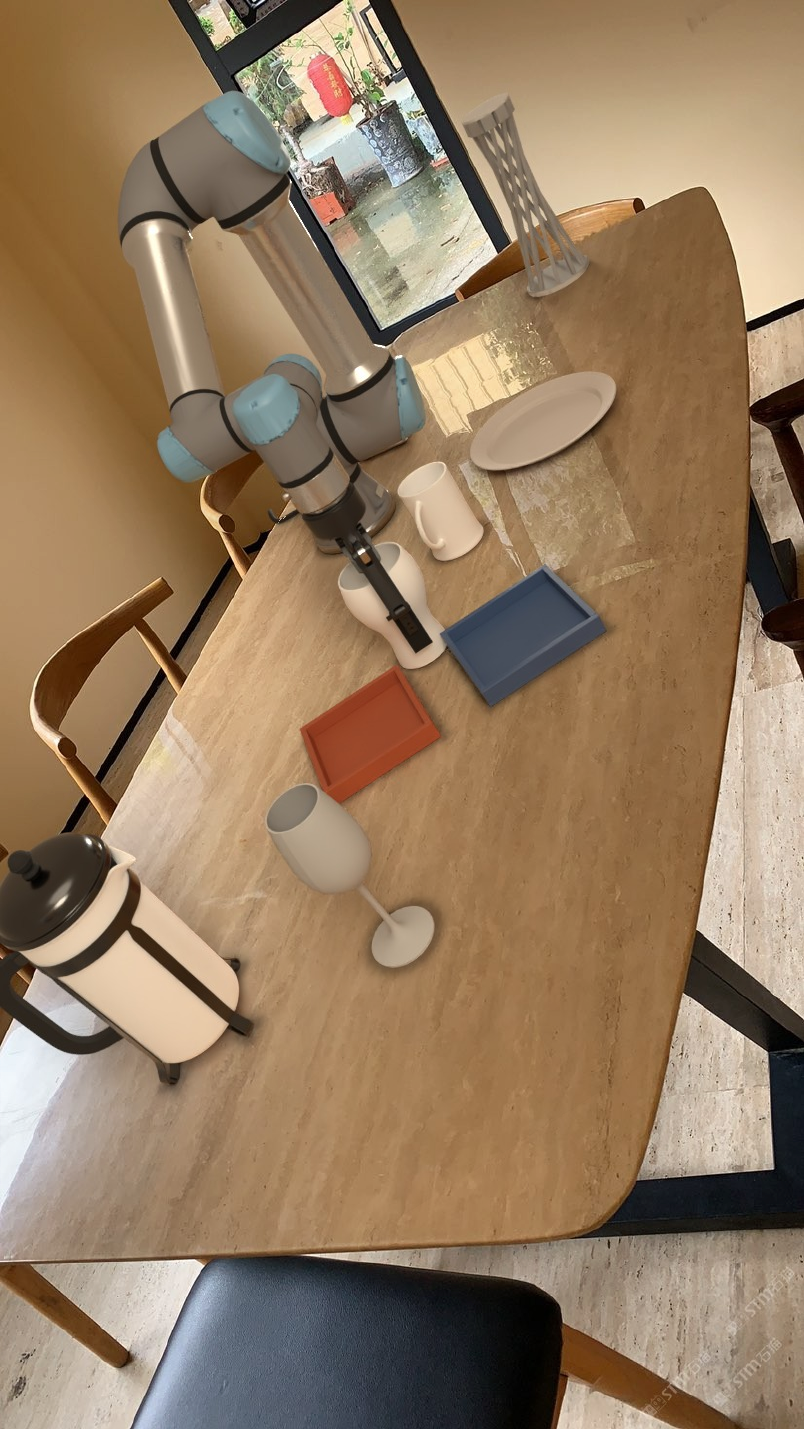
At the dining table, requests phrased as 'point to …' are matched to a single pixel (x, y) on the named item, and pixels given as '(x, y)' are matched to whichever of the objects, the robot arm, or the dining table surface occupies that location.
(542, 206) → the grey lattice tower
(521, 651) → the mug tray
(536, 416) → the plate
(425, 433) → the dining table surface
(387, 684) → the cup tray
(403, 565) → the cup
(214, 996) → the coffee press
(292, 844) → the wineglass
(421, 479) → the mug
